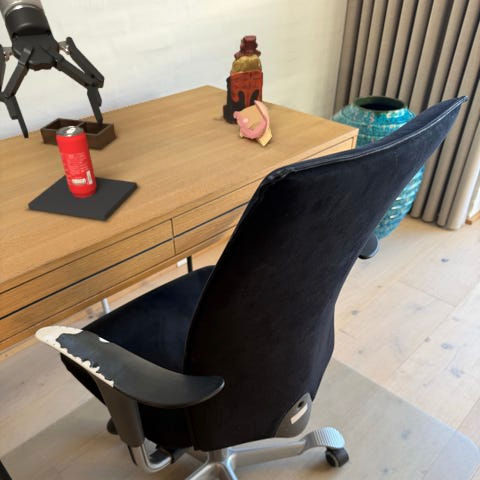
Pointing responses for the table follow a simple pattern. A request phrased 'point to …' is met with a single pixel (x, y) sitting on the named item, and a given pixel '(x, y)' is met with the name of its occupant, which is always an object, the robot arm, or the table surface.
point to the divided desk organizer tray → (94, 133)
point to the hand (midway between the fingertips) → (64, 128)
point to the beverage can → (76, 161)
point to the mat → (84, 199)
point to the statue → (244, 79)
